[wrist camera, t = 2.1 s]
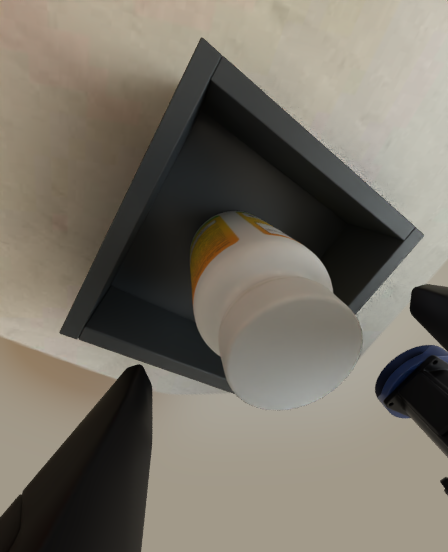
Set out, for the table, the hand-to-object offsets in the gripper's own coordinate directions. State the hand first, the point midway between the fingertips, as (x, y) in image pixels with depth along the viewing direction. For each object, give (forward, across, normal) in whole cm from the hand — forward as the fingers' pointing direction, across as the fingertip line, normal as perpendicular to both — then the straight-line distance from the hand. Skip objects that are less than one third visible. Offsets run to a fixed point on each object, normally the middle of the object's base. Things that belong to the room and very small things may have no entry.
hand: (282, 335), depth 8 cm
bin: (+9, 0, 0) cm, 9 cm away
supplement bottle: (+9, 0, 0) cm, 9 cm away
